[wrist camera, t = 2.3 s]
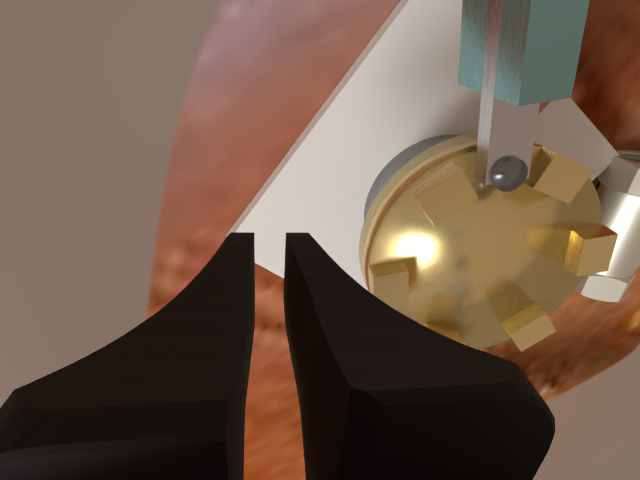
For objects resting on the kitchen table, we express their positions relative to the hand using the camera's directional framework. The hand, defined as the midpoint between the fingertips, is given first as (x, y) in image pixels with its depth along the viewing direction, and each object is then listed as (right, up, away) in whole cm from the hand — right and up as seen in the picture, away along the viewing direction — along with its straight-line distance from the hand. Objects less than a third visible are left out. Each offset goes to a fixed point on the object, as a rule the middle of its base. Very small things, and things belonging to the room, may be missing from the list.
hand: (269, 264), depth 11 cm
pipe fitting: (+20, +2, +14) cm, 25 cm away
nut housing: (+7, +3, +12) cm, 14 cm away
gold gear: (+8, +4, +6) cm, 10 cm away
